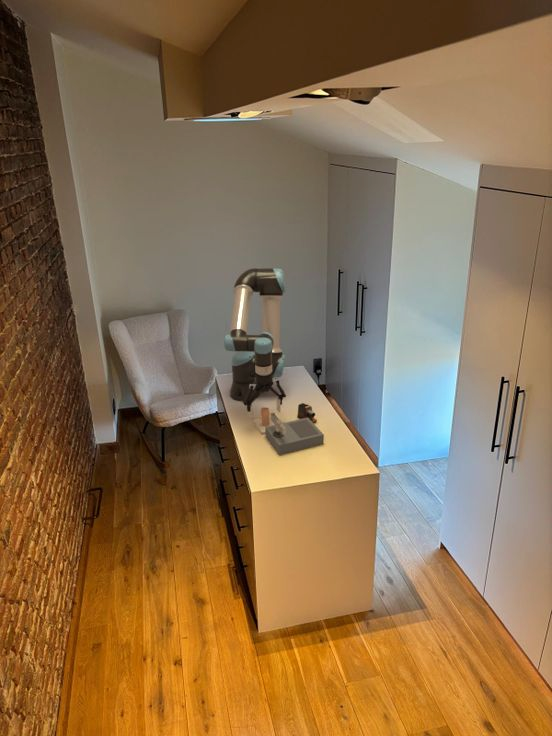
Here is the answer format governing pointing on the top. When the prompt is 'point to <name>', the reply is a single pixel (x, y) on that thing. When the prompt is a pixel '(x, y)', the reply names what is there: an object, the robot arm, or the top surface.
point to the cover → (263, 421)
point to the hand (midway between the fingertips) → (264, 414)
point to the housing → (295, 436)
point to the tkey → (278, 425)
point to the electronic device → (306, 412)
